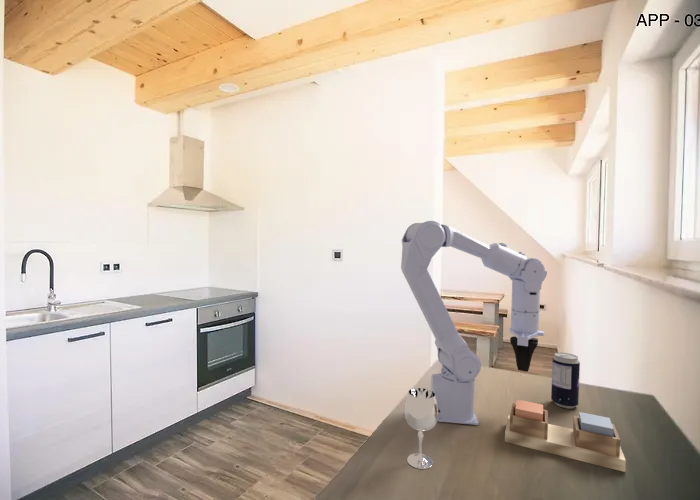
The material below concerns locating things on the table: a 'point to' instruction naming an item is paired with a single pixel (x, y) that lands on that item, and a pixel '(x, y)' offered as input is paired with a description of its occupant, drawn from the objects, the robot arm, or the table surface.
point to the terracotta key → (529, 410)
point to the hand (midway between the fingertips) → (523, 370)
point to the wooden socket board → (565, 441)
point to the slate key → (595, 424)
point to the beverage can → (565, 380)
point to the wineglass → (421, 421)
